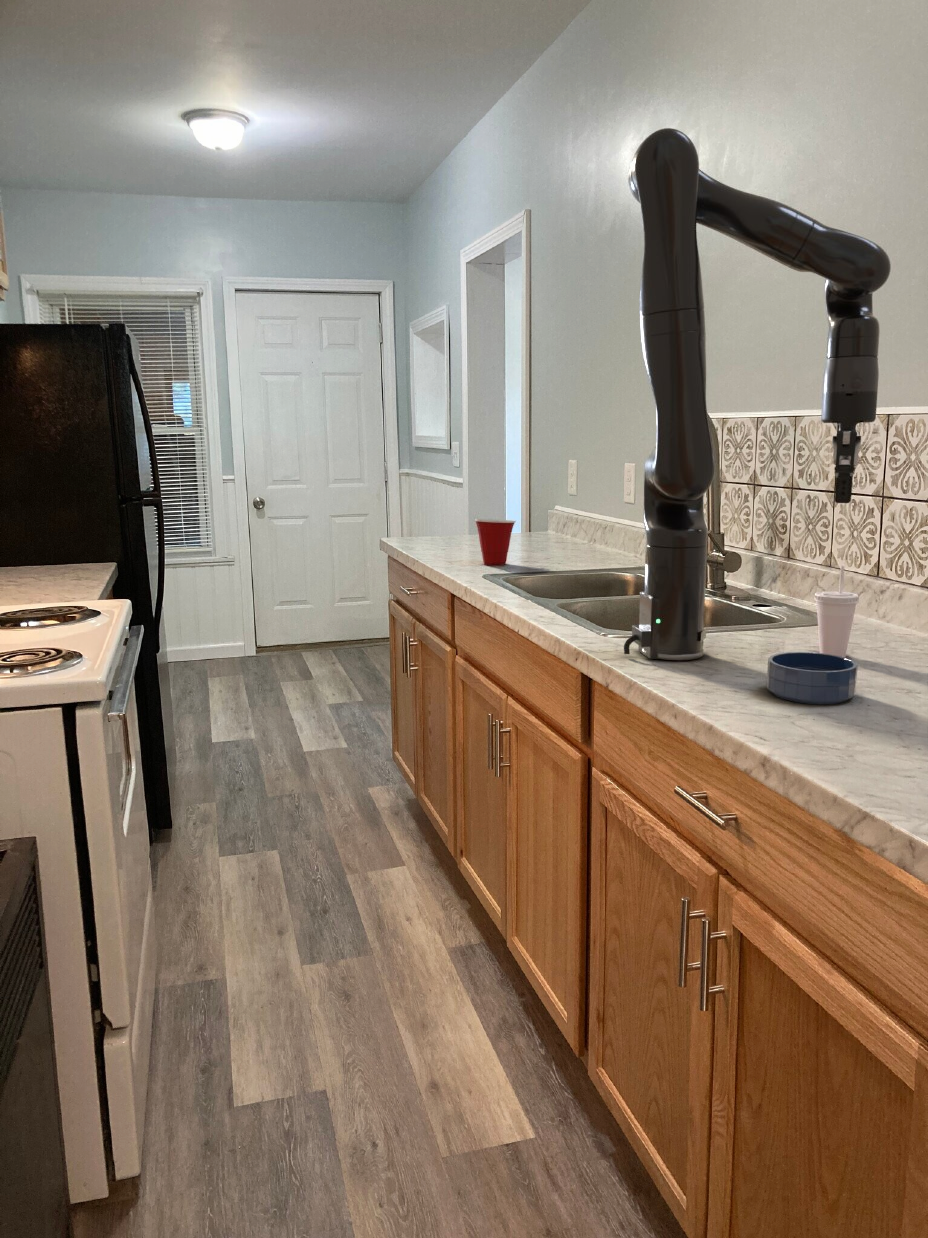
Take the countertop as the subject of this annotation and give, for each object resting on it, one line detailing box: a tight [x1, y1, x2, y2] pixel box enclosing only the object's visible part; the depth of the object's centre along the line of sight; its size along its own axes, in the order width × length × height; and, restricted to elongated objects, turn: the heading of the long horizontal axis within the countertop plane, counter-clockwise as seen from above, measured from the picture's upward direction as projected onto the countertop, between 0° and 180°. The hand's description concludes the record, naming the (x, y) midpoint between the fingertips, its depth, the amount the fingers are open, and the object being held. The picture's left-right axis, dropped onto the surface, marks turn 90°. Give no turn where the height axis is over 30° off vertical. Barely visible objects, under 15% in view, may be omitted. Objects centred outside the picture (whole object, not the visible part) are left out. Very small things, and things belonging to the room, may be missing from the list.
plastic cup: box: [474, 518, 517, 567], centre depth 251 cm, size 11×11×12 cm
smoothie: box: [813, 565, 860, 658], centre depth 148 cm, size 6×6×14 cm
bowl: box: [766, 651, 858, 705], centre depth 128 cm, size 11×11×4 cm
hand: (843, 500), depth 145 cm, fingers open, 8 cm apart
